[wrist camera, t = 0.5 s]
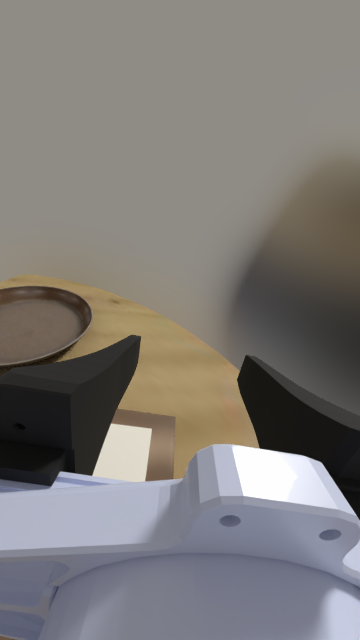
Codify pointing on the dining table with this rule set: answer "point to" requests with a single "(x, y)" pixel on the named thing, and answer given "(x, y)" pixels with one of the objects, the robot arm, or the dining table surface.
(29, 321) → the plant saucer
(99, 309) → the dining table surface
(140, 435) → the tile
